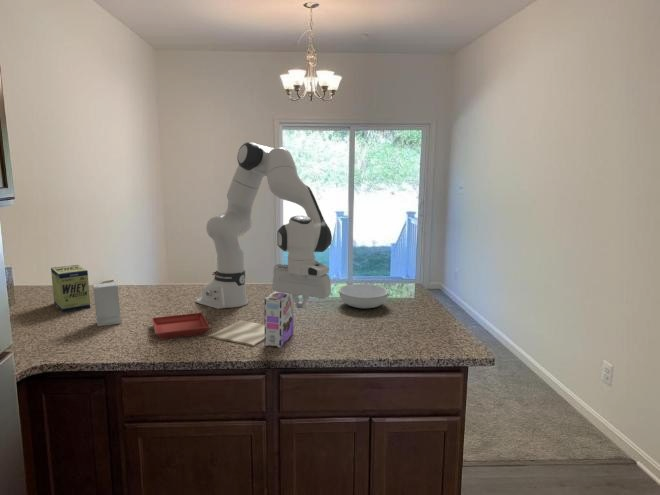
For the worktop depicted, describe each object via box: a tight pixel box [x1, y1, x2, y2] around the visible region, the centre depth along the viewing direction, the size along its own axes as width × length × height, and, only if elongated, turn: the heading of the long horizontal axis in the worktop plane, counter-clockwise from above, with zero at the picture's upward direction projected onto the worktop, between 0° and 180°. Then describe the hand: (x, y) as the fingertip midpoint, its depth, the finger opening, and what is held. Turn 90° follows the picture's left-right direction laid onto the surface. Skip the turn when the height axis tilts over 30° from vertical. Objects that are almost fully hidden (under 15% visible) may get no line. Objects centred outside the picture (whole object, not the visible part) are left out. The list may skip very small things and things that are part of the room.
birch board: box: [209, 319, 265, 347], centre depth 165 cm, size 18×18×1 cm
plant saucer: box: [151, 312, 211, 340], centre depth 168 cm, size 18×18×3 cm
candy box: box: [264, 291, 294, 349], centre depth 158 cm, size 14×6×16 cm, turn 167°
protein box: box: [50, 264, 91, 313], centre depth 192 cm, size 10×16×16 cm
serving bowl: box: [338, 283, 389, 310], centre depth 200 cm, size 21×21×7 cm
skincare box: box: [92, 281, 122, 327], centre depth 172 cm, size 8×6×15 cm
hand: (300, 307), depth 154 cm, fingers closed
